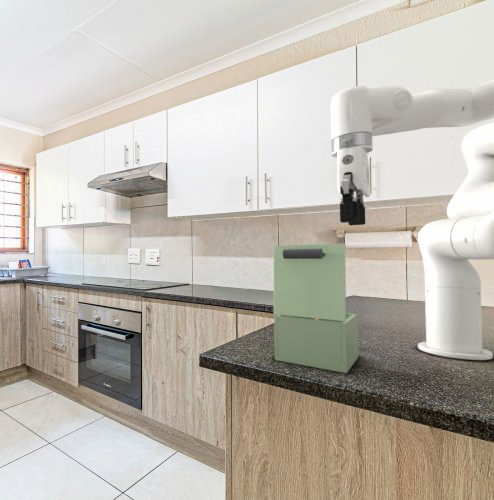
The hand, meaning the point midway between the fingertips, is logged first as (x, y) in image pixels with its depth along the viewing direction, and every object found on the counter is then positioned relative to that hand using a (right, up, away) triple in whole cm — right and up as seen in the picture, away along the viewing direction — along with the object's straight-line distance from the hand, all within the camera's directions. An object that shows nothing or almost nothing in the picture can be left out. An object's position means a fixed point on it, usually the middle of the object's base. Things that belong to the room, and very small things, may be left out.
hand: (353, 223), depth 76 cm
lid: (-11, -12, -3) cm, 17 cm away
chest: (-7, -30, +2) cm, 31 cm away
